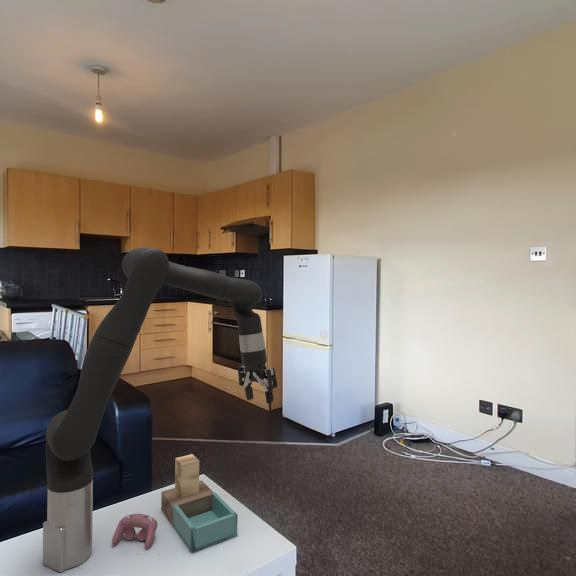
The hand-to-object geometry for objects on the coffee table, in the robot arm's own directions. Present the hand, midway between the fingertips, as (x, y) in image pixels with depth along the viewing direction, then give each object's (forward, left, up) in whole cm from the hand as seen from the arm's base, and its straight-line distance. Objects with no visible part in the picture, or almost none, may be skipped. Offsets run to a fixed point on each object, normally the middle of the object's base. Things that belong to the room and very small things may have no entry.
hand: (259, 401), depth 125 cm
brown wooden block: (-17, +13, -28) cm, 35 cm away
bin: (-23, +3, -28) cm, 36 cm away
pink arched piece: (-34, +16, -28) cm, 47 cm away
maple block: (-17, +13, -23) cm, 31 cm away
